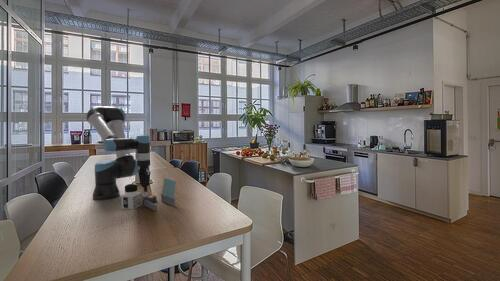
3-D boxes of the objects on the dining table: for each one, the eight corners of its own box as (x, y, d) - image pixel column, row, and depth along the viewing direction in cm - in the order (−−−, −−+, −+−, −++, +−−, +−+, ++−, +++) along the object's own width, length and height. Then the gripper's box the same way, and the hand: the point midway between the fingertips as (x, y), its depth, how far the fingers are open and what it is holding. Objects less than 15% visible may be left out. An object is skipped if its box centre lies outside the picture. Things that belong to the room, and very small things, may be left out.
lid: (164, 177, 150) (166, 177, 151) (161, 195, 149) (163, 195, 150) (175, 180, 141) (177, 180, 142) (172, 199, 141) (174, 199, 142)
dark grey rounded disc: (142, 201, 149) (142, 197, 148) (153, 198, 154) (153, 194, 154) (147, 204, 144) (147, 199, 144) (158, 201, 149) (158, 196, 149)
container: (133, 209, 135) (132, 186, 134) (121, 208, 137) (120, 186, 136) (142, 205, 143) (141, 183, 142) (130, 204, 144) (129, 182, 143)
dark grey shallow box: (144, 205, 142) (143, 197, 142) (162, 200, 151) (162, 193, 150) (155, 211, 133) (155, 203, 132) (175, 205, 141) (174, 198, 141)
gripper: (133, 159, 153) (134, 195, 155) (142, 161, 145) (143, 199, 147) (144, 158, 159) (146, 193, 161) (154, 159, 150) (155, 197, 152)
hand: (144, 196), depth 154 cm, fingers closed
